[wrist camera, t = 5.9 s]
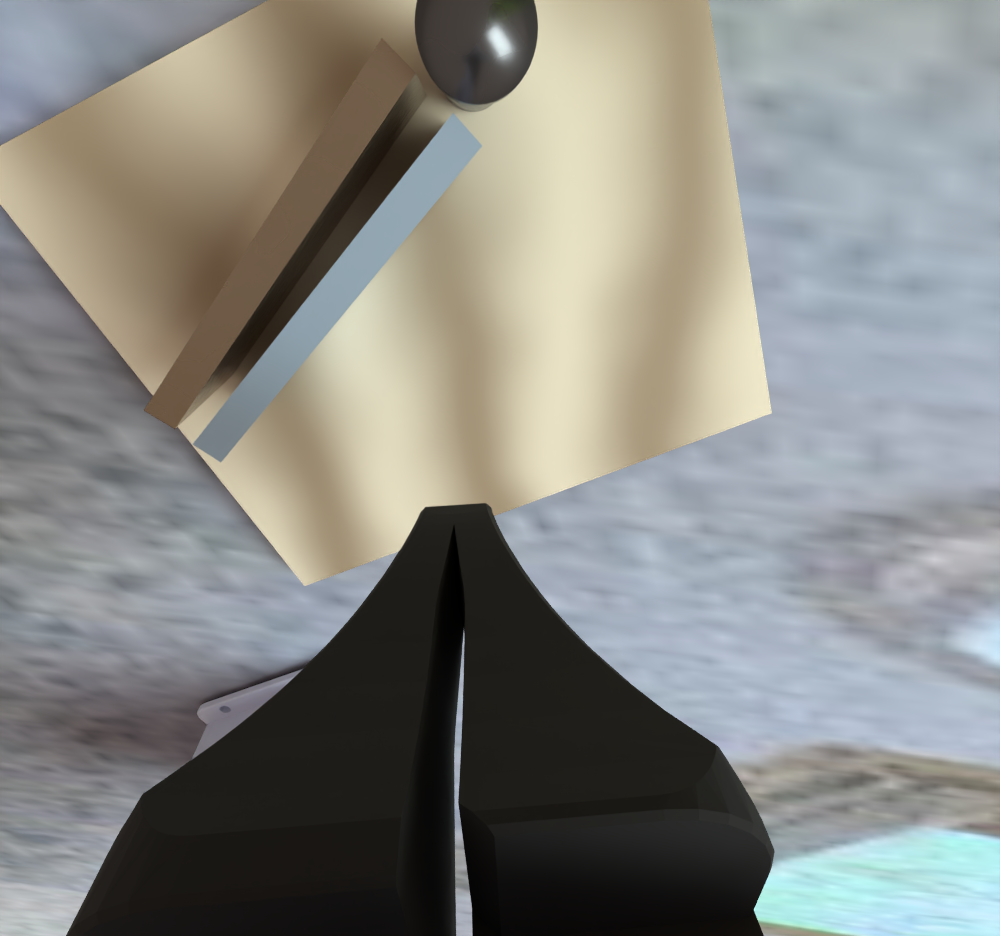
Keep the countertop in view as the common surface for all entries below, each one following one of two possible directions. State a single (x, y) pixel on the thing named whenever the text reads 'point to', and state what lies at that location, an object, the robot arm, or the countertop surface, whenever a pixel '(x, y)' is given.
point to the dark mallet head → (348, 176)
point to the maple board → (423, 261)
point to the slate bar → (342, 284)
